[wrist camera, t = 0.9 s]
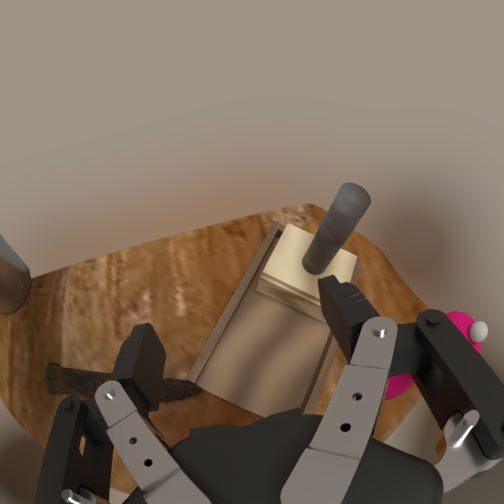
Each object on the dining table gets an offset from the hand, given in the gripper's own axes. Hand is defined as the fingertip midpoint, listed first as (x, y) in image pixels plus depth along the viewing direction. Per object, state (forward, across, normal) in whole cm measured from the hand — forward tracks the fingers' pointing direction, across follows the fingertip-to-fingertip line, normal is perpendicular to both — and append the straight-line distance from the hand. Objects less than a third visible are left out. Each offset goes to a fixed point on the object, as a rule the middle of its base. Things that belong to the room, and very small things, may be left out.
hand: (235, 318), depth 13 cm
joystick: (+21, -7, +13) cm, 26 cm away
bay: (+18, -3, +16) cm, 24 cm away
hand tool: (+11, +17, +14) cm, 25 cm away
